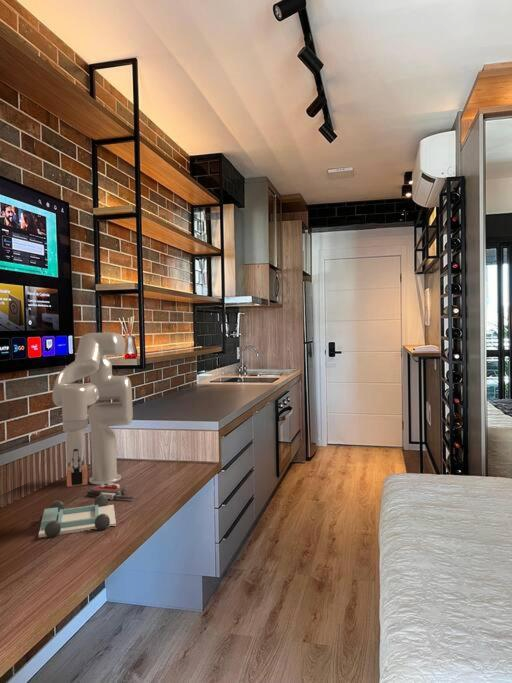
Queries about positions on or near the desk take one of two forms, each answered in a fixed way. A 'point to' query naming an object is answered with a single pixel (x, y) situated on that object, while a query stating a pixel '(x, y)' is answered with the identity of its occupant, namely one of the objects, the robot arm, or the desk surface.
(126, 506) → the desk surface
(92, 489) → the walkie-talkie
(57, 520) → the chassis
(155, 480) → the desk surface
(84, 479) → the orange-brown block
